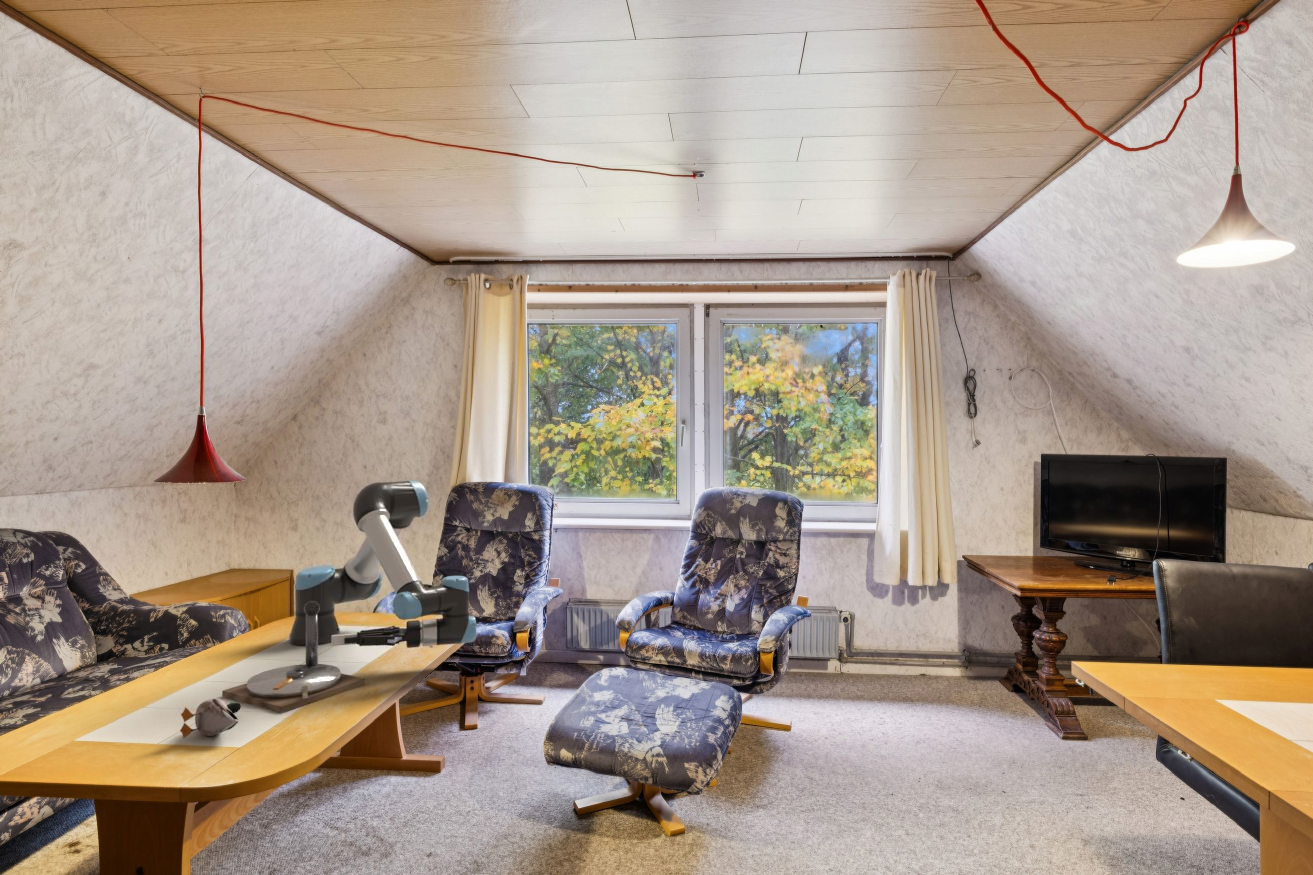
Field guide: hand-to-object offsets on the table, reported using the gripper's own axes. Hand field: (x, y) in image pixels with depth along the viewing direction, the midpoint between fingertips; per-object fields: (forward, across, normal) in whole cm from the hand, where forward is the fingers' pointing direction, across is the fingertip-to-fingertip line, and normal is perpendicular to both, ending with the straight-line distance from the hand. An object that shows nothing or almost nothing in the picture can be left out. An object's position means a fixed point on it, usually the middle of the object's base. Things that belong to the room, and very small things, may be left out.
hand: (331, 640), depth 206 cm
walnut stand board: (+8, -9, -10) cm, 16 cm away
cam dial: (+8, -9, -8) cm, 14 cm away
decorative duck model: (+20, -34, -10) cm, 41 cm away
